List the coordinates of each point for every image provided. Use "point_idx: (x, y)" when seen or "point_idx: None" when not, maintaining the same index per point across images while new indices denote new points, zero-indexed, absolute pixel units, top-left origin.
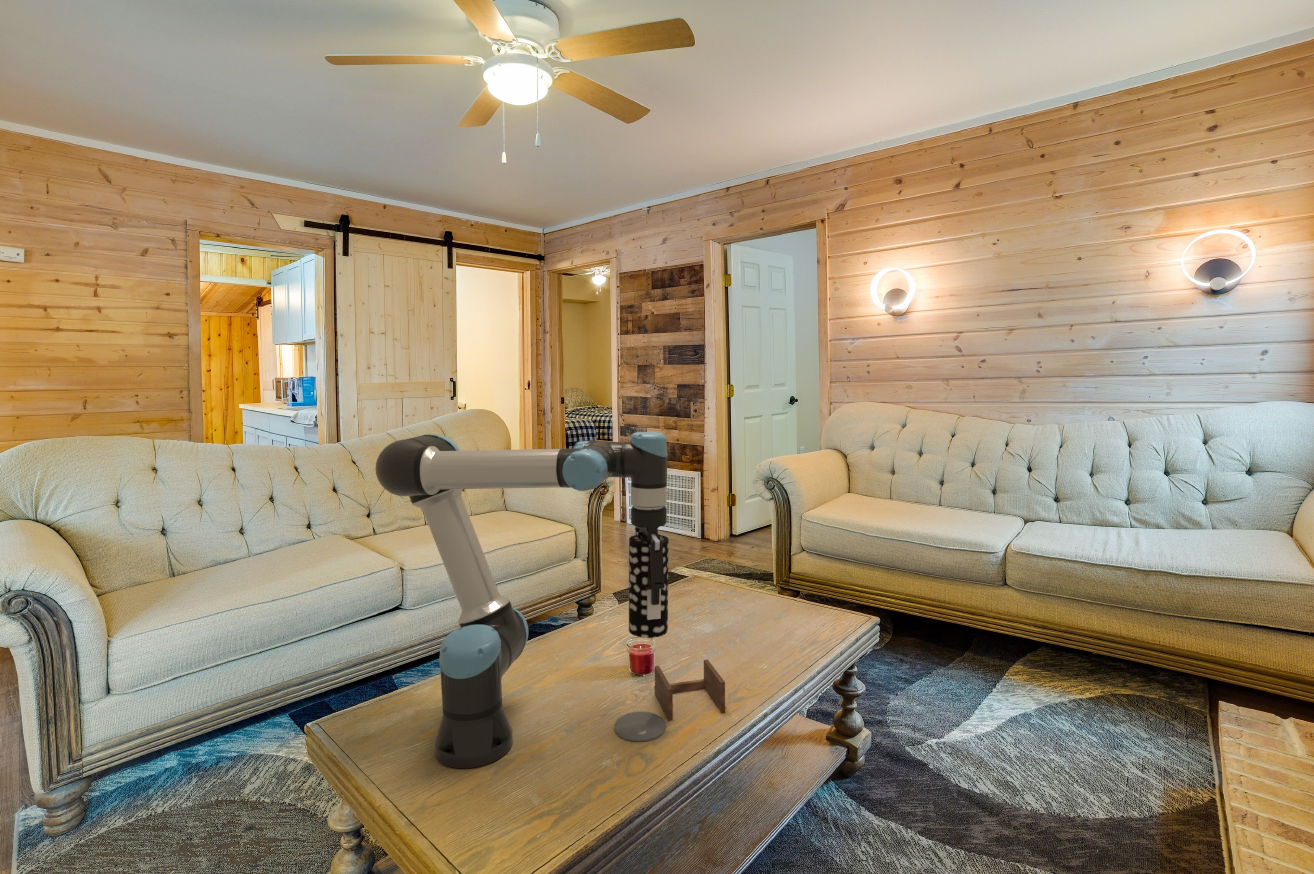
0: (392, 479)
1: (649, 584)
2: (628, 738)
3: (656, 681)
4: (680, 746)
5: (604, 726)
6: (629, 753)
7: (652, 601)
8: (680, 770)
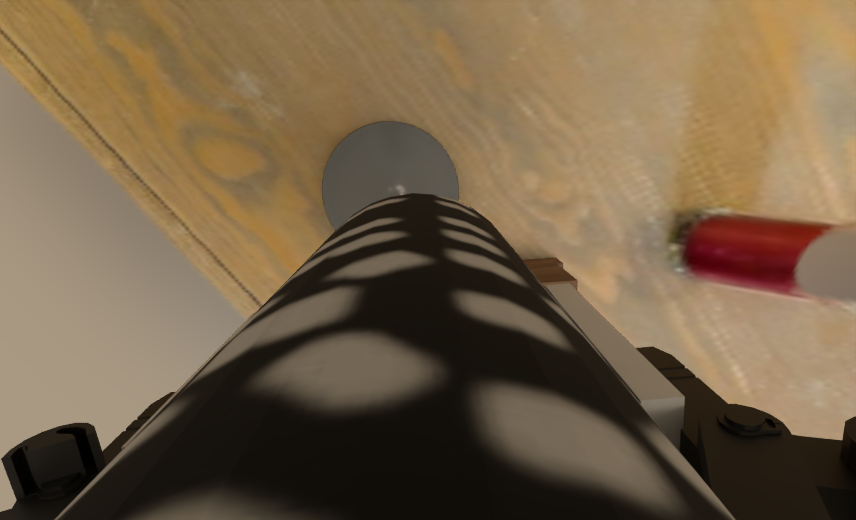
0: None
1: (52, 503)
2: (333, 152)
3: (543, 271)
4: (290, 273)
5: (415, 96)
6: (277, 147)
7: (154, 409)
8: (194, 254)
